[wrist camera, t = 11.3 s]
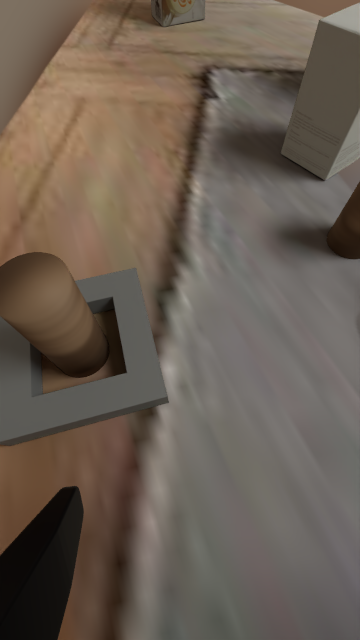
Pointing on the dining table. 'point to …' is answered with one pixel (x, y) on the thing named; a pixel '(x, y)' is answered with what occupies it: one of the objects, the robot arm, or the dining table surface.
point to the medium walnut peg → (347, 229)
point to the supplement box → (328, 99)
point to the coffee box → (177, 11)
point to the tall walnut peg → (52, 313)
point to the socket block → (90, 398)
